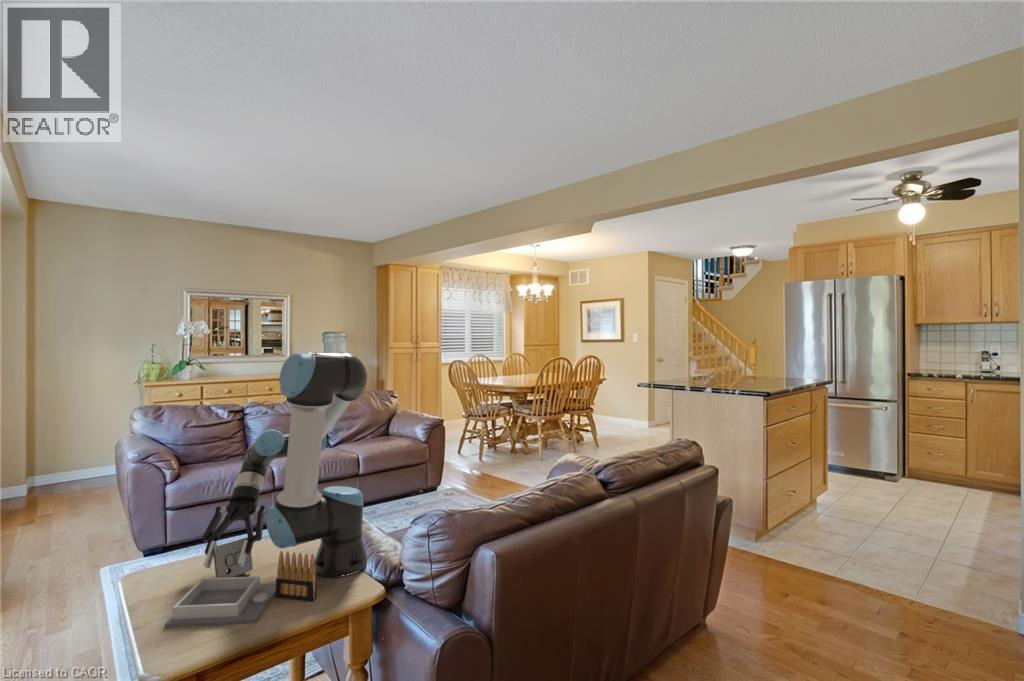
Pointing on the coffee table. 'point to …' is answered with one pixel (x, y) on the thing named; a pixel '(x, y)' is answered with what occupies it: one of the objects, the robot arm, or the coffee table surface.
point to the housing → (222, 602)
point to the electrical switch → (231, 559)
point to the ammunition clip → (296, 578)
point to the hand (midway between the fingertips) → (223, 565)
